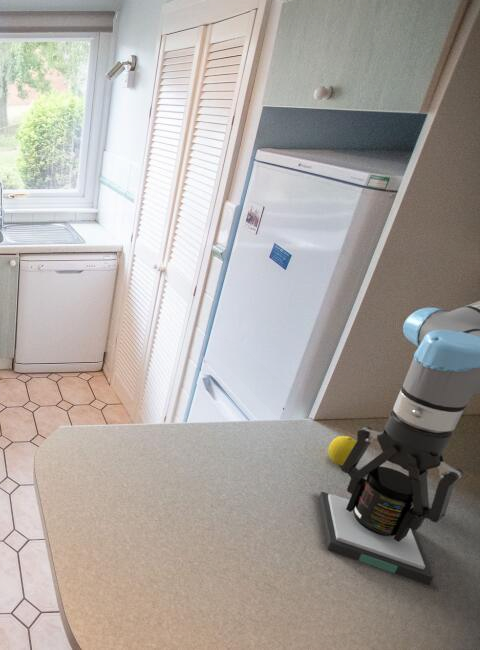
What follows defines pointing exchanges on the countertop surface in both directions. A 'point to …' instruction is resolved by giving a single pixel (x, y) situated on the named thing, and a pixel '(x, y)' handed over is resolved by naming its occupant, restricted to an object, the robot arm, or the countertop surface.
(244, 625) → the countertop surface
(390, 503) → the supplement container
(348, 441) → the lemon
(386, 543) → the kitchen scale
